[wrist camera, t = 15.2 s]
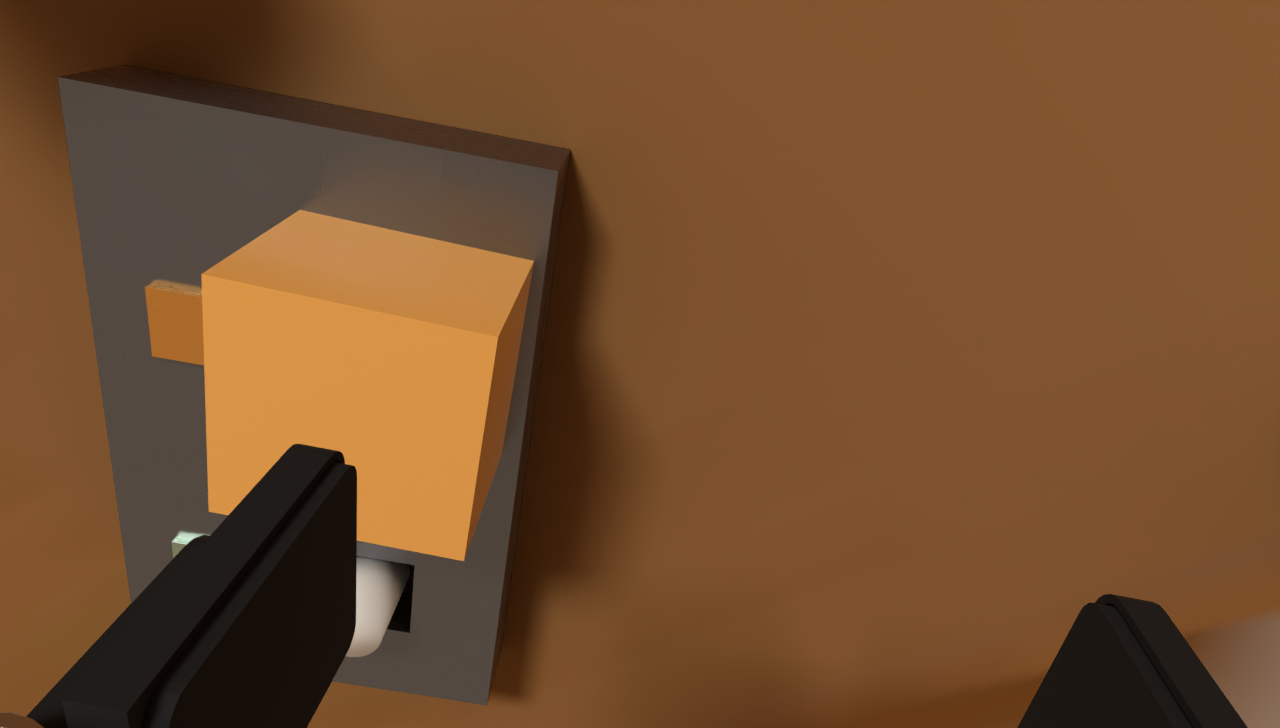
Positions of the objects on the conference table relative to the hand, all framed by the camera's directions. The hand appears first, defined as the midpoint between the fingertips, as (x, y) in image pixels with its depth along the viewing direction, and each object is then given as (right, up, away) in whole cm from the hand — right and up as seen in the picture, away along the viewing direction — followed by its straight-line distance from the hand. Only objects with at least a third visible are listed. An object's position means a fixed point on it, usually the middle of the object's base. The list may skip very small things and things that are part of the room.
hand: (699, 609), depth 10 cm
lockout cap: (-8, +4, +15) cm, 17 cm away
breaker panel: (-12, +2, +20) cm, 23 cm away
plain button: (-11, -5, +21) cm, 24 cm away
